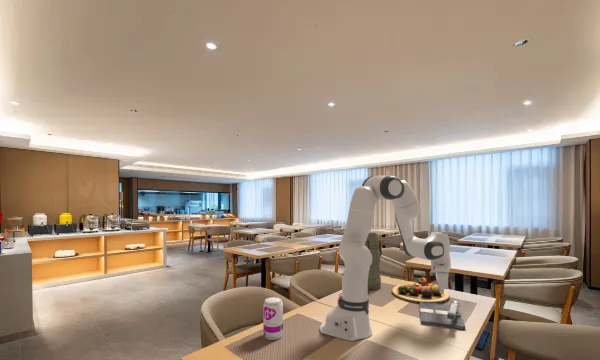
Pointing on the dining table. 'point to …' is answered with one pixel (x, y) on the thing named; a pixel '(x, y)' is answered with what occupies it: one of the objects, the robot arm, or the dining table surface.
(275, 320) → the supplement can
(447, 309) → the board
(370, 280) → the dark olive tall piece
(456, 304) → the swing bar
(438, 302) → the wooden plate with food
